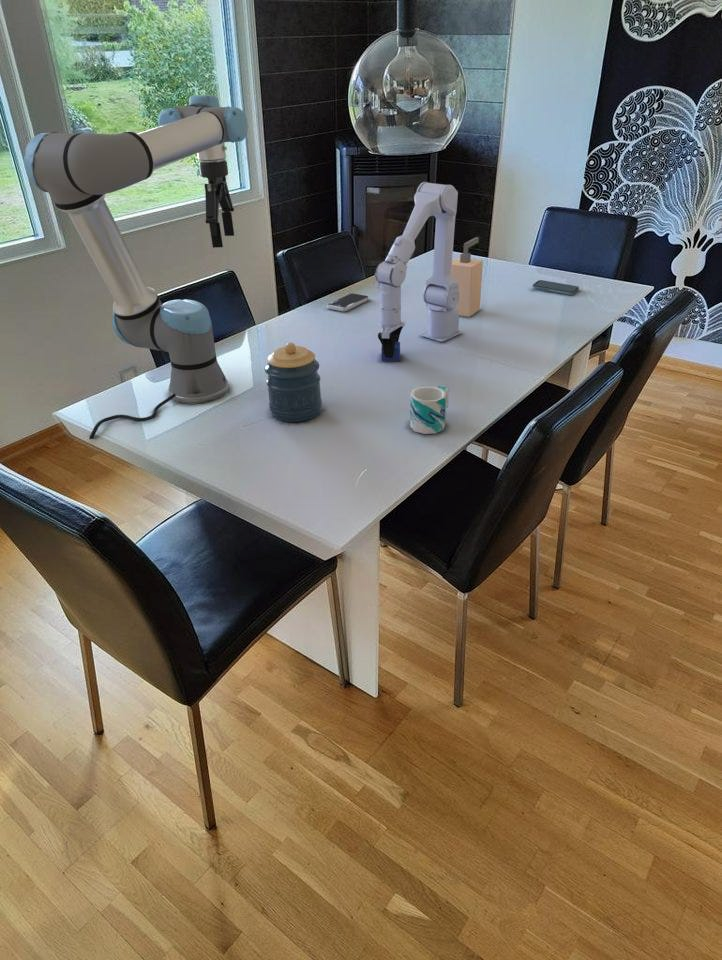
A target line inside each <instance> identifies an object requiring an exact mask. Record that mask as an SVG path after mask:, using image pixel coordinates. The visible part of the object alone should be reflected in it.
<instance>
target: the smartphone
mask: <svg viewBox="0 0 722 960" xmlns="http://www.w3.org/2000/svg"><path fill="white" fill-rule="evenodd" d="M368 301H369V296H368V295H364V294H360V293H351V292H350V293H348V294H346V295H344V296H342V297H339V298H338V299H336V300H333V301H331V302H329V303H327V304H326V305H327V310H334V311H337V312H347V311H349V310H352V309H353V308H355V307H358V306H359V305H361V304H363V303H366V302H368Z"/></svg>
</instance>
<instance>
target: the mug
mask: <svg viewBox="0 0 722 960" xmlns="http://www.w3.org/2000/svg"><path fill="white" fill-rule="evenodd" d="M449 393H450V388H449V387H445V386H441V385H438V386H437V387H436V386H432V385H429V386H428V385H427V386H419V387H416V388H414V389H412V390H411V392H410V395H409V396H410V397H409V398H410V399H409V401H410V403H409V420H410V421H409V426H410V429H412V431H414V432H415V433H418V434H423V435H430V434H432V435H433V434H438V433H440V432H442V431H444V429H445V426H446V412H447V411H446V410H447V408H448V407H449Z"/></svg>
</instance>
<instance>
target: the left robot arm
mask: <svg viewBox="0 0 722 960" xmlns="http://www.w3.org/2000/svg"><path fill="white" fill-rule="evenodd" d="M188 101H189V104H188V105H187V106H178V107H172V106H171V107H170V108H166V109H164V110H161V112H160V114H159V116H158V120H157V121H158V123H157V124H158V126H157V127H153V128H151V129H147V130H145V131H141V132H138V133H137V132H135V131H132V130H126V131H123V132H119V133H95V132H94V133H91V132H59V131H50V132H42V133H38V134H36V135H34V136H33V137H32V138H31V139H30V140H29V141H28V143H27V145H26V147H25V154H24V157H23V159H24V160H23V165H24V170H25V174H26V176H27V178H28V180H29V181H30V183H31V184H32V186H34V187H35V188H36V189H38V190H40V191H41V192H45V193H48V194H49V197H50V198H51V200H52V202H53V203H54V205H55V207H56V209H57V210H59V211H61V212H62V213H63V212H64V213H67V214H68V217H69V218H70V220H71V222H72V224H73V225H74V227H75V230H76V231H77V233H78V235H79V237H80V239H81V240H82V242H83V244H84V246H85V247H86V250H87V252H88V254H89V256H90V257H91V259H92V261H93V263H94V265H95V267H96V268H97V270H98V272H99V274H100V276H101V278H102V279H103V281H104V283H105V285H106V287H107V289H108V291H109V292H110V295H111V296H112V298H113V300H114V301H113V304H112V313H111V318H112V321H111V324H112V325H111V326H112V329H113V331H114V332H115V335H116V337H118V338H119V340H121V341H122V342H123V343H125V344H127V345H130V346H132V347H136V348H140V349H141V348H142V349H149V350H155V351H161V352H165V353H168V356H169V361H170V367H171V369H170V370H171V371H170V377H169V386H168V393H169V396H168V397H166V398H165V399H164V400H162V401H161V402H159V403H158V404H156V406H155V407H154V408H153V411H152V414H151V415H148V416H145V417H136V416H132V415H129V414H128V415H127V414H114V415H111V416H107V417H104V418H102V419H100V420H98V422H97V423H96V424H95V425H94V427H93V429H92V431H91V433H90V435H89V438H88V439H89V440H93V439H94V438H95V435H96V433H97V431H98V429H99V427H100V426H101V425H102V424H104V423H106V422H109V421H112V420H117V419H127V420H131V421H136V422H146V421H150V420H153V419H154V418H156V416H157V412H158V410H159V409H160V408H161V407H162V406H164V405H165V404H167V403H169V402H170V401H172V400H173V401H175V402H177V403H180V404H188V405H189V404H190V405H196V404H197V405H198V404H204V403H208V402H212V401H214V400H217V399H219V398H221V397H223V396H224V395H225V394H227V392H228V391H229V383H228V379H227V378H226V375H225V374H224V372H223V370H222V368H221V366H220V363H219V362H218V358H217V352H216V346H215V338H214V331H213V323H212V319H211V316H210V312H209V309H208V308H207V306H205V304H203V303H201V302H199V301H197V300H193V299H185V298H184V299H180V298H179V299H178V298H177V299H172V300H168V301H166V302H164V303H162V301H161V299H160V297H159V295H158V293H157V291H156V289H154V288H153V287H149V286H147V284H146V282H145V280H144V277H143V276H142V274H141V272H140V270H139V268H138V265H137V264H136V261H135V260H134V258H133V255H132V253H131V252H130V249H129V247H128V245H127V243H126V241H125V239H124V237H123V235H122V233H121V231H120V229H119V226H118V225H117V223H116V220H115V218H114V217H113V214H112V212H111V210H110V208H109V206H108V204H107V202H106V199H105V197H106V195H107V194H111V193H116V192H117V191H120V190H123V189H125V188H128V187H131V186H134V185H135V184H138V183H140V182H143V181H145V180H147V179H149V178H150V177H151V176H152V175H153V173H154V171H155V170H158V169H161V168H163V167H166V166H168V165H171V164H174V163H176V162H179V161H181V160H183V159H186V158H189V157H191V156H194V155H197V160H198V161H199V163H198V167H199V174H200V176H201V178H205V179H207V183H204V186H203V187H204V192H205V224H208V225H209V232H210V239H211V245H212V248H213V249H214V248H223V247H224V245H223V237H222V231H221V224H220V222H219V210H220V208H221V211H222V212H221V219H222V226H223V233H224V237H233V236H235V230H234V223H233V222H234V221H233V215H232V212H234V211H235V208H234V206H233V202H232V198H231V194H230V191H229V187H228V183H227V176H229V169H228V162H227V160H225V159H226V158H227V154H226V151H227V149H228V148H227V146H226V145H225V143H232V144H234V143H241V142H242V141H244V140H245V139H246V137H247V135H248V131H249V124H248V118H247V116H246V114H245V112H244V111H243V110H242V109H241V108H240V107H236V106H235V107H234V106H229V105H228V106H220V103H219V102H220V101H219V98H218V97H217V95H215V94H197V95H196V94H195V95H191V96H190V97H189V100H188Z"/></svg>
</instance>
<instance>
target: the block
mask: <svg viewBox="0 0 722 960" xmlns="http://www.w3.org/2000/svg"><path fill="white" fill-rule="evenodd" d="M400 361H401V341H398V342H396V343H395V348H394V354H393V358H386V357H385V355H384V350H383V347H382V346H381V362H400Z"/></svg>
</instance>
